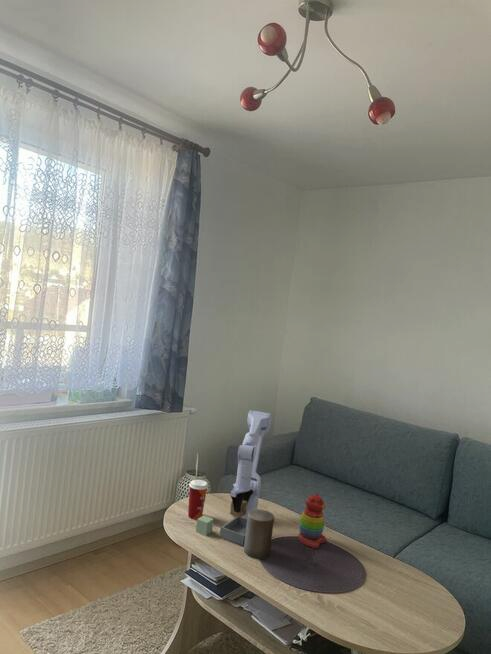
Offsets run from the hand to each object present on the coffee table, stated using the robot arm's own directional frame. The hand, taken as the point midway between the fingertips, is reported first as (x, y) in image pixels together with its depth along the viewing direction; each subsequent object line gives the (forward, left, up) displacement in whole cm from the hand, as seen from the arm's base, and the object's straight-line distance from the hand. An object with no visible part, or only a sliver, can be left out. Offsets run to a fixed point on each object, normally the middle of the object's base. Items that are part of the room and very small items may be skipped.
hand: (239, 509), depth 188 cm
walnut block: (0, -1, -2) cm, 2 cm away
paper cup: (+1, -19, -9) cm, 21 cm away
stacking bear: (-13, +26, -9) cm, 30 cm away
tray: (+3, +3, -8) cm, 9 cm away
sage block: (+9, -9, -8) cm, 16 cm away
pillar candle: (+9, +13, -9) cm, 18 cm away
